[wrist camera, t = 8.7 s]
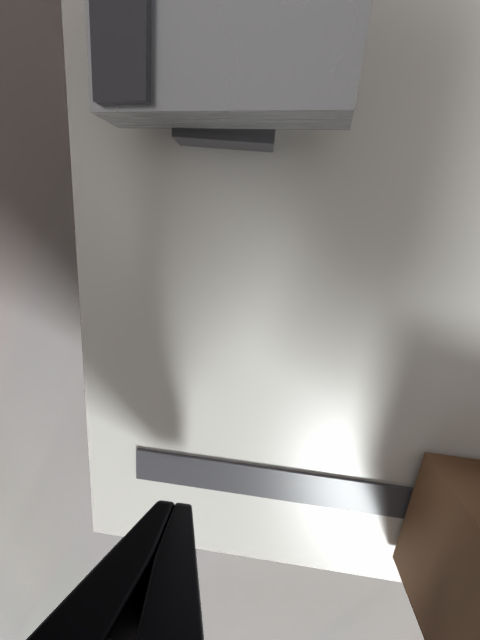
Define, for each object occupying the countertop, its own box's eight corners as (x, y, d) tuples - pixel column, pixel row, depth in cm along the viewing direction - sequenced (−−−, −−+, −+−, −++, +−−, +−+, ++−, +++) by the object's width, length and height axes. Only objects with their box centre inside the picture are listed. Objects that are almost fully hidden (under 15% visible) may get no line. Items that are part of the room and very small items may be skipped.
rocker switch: (391, -117, 4) (410, -218, 3) (350, 129, 5) (355, 104, 4) (115, -71, 5) (70, -136, 4) (119, 128, 6) (83, 108, 5)
